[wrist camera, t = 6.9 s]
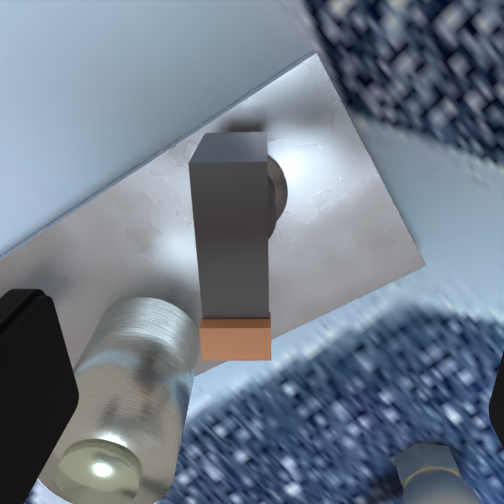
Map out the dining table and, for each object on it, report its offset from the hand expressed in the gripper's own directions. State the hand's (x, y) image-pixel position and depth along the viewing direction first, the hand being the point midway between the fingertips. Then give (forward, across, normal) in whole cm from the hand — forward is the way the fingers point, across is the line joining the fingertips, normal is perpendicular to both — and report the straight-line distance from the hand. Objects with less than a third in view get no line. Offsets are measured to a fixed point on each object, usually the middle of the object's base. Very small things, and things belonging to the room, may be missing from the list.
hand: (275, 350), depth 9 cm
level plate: (+11, +8, +6) cm, 15 cm away
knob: (+10, +2, 0) cm, 10 cm away
